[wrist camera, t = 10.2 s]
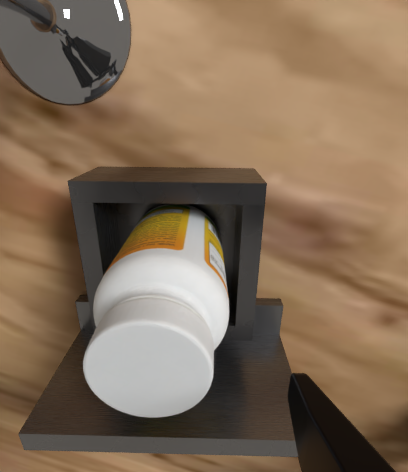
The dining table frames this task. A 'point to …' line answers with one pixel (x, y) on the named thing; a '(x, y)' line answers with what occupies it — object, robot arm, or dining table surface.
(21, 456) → the dining table surface
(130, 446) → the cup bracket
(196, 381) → the supplement bottle
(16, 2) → the wine glass
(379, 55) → the dining table surface
